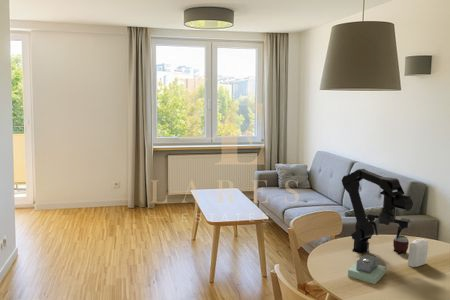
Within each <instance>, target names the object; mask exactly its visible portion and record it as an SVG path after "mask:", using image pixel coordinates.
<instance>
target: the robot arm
mask: <svg viewBox="0 0 450 300" xmlns="http://www.w3.org/2000/svg"><path fill="white" fill-rule="evenodd" d="M363 180H365V181H367V182H370V183H372V184H375V185H377V186H378V187H379V188H380V189H381V192H379V194H380V195H383V203H382V208H381V212H380V214H379V212H373V211H372V212H370V213H368V214H367V215H366V211H365V208H364V205H363V202H362V198H361V195H360V191H359V190H360V186H361V185H360V184H361V183H360V182H361V181H363ZM341 183H342V186H343V188H344V190H345V191H346V192H347V193H348V194H349V199H350V203H351V206H352V210H353V212H354V216H355V219H356V220H355V221H356V222H355V226H354V227H355V231H354V232H353V233H351V239H352V240H353V248H352V249H351V250H352V252H356V253H360V254H364V255H365V254H366V253H367V252H368V251H369V250H370V242H369V240H370V239H372V237H373V236H374V233H375V234H376V236H378V235H379V231H380V229H379V227H380V225H386V226H389V225H390V224H391V223H393V224H396V225H397V224H398V225H399V226H398V225H397V232H396V236H397V237H396V236H395V237H396V240H398V238H399V236H400V235H401V233H402V232H403V230H405V229H408V228H410V227H411V223H412V221H411V219H408V218H404V217H401V218H400V219H398V218H396V213H397V209H399V210H403V211H406V212H410V211H411V210H412V209H413V207H414V206H413V205H414V202H413V200H412V198H411V195H408V194H406V193H405V191H404V189H403V188H402V185H401V183H400V180H399V179H398V178H395V177H385V176H382V175H379V174H378V173H375V172H372V171H369V170H367V169H366V168H359V169H356V170H355V171H353V172H351V173H349V174H347V175H344V176H343V177H342V179H341Z"/></svg>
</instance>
